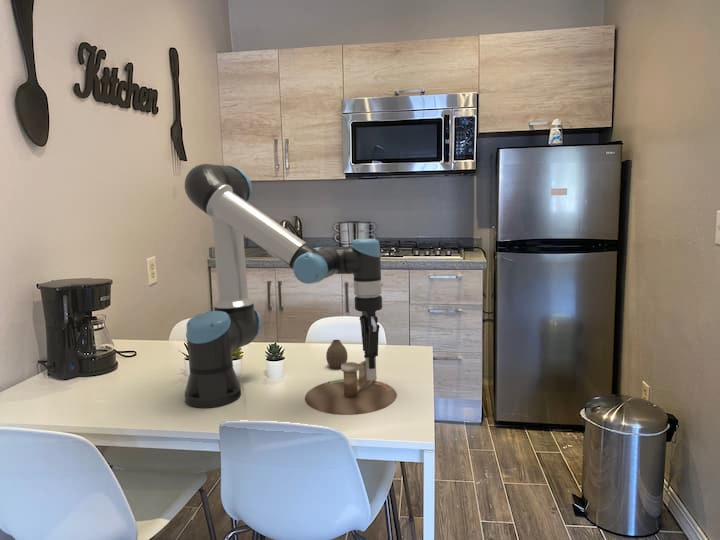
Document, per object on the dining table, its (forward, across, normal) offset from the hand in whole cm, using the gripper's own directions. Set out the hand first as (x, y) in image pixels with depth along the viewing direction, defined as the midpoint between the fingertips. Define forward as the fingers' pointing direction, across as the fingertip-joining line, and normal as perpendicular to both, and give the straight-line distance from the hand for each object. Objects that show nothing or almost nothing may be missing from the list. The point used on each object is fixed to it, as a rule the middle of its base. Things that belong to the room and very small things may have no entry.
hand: (371, 378), depth 140 cm
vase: (+4, +26, +5) cm, 27 cm away
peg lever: (+3, +1, +3) cm, 4 cm away
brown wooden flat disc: (+4, -2, +6) cm, 8 cm away
